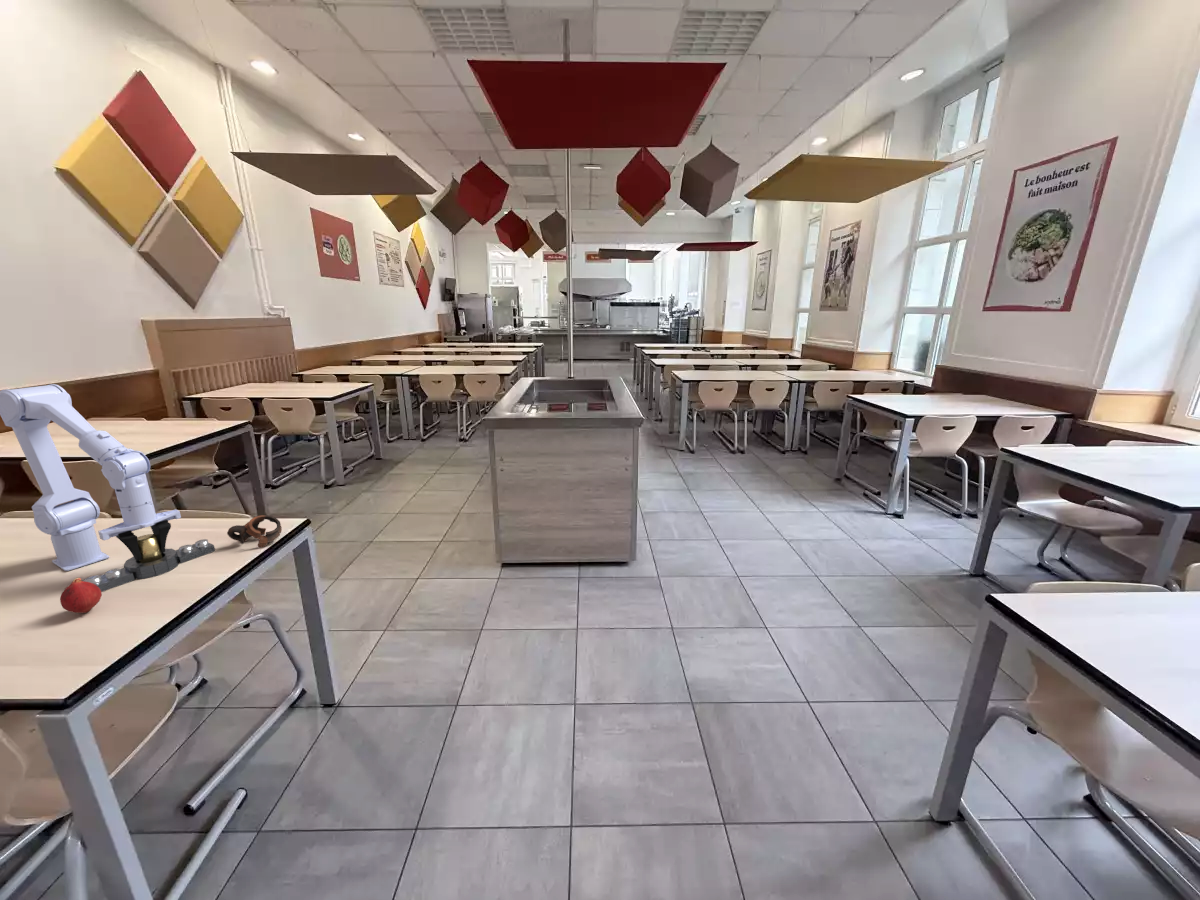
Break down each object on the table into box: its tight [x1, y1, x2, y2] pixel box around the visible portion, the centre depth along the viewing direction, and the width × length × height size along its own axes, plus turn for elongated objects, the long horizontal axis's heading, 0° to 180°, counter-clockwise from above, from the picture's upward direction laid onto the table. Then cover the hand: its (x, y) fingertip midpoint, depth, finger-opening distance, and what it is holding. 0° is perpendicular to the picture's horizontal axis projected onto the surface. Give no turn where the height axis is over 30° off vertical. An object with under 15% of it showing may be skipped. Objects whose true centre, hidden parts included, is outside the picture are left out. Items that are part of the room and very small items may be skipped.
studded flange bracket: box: [83, 538, 216, 593], centre depth 119 cm, size 9×24×3 cm, turn 152°
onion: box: [59, 577, 103, 614], centre depth 101 cm, size 6×6×8 cm
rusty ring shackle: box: [226, 514, 282, 548], centre depth 132 cm, size 12×10×8 cm
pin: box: [137, 533, 162, 563], centre depth 118 cm, size 4×4×7 cm
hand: (150, 555), depth 118 cm, fingers closed on pin, 4 cm apart
